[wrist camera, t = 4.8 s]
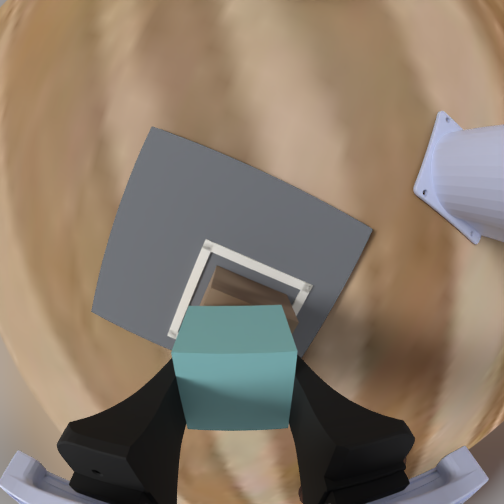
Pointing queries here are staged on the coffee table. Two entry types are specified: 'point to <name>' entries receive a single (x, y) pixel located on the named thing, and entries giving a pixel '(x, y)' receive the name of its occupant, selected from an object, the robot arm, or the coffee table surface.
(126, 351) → the coffee table surface
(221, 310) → the teal block
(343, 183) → the coffee table surface
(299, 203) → the grey flat plate
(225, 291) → the walnut block
